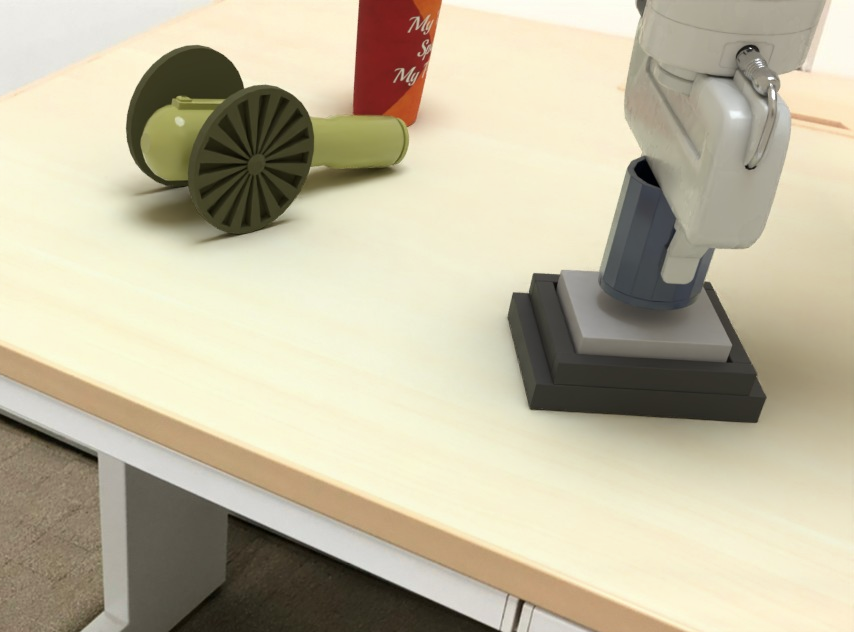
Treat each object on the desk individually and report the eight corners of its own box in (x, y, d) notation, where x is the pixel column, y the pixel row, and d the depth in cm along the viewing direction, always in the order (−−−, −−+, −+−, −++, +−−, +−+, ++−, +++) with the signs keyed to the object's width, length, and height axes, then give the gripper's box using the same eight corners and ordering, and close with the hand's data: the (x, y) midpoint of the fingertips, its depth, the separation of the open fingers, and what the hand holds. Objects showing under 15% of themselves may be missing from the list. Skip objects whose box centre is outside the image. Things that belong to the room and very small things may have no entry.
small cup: (687, 266, 82) (722, 155, 77) (710, 313, 77) (749, 198, 72) (590, 261, 82) (619, 151, 77) (607, 307, 78) (639, 193, 73)
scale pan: (690, 299, 85) (698, 276, 83) (724, 369, 78) (732, 345, 77) (555, 292, 85) (561, 269, 84) (576, 360, 79) (583, 336, 77)
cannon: (354, 140, 113) (369, 9, 106) (437, 188, 105) (460, 50, 98) (109, 195, 104) (108, 57, 97) (180, 253, 96) (184, 107, 89)
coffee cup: (420, 138, 113) (448, -38, 103) (331, 126, 115) (350, -47, 106) (435, 106, 119) (462, -64, 109) (350, 95, 121) (370, -72, 112)
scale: (710, 326, 87) (726, 281, 85) (757, 422, 78) (776, 375, 76) (507, 315, 89) (517, 271, 86) (529, 409, 80) (541, 361, 77)
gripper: (850, 89, 61) (757, 336, 70) (740, -31, 76) (676, 184, 85) (716, 84, 61) (641, 330, 70) (634, -34, 77) (581, 180, 86)
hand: (659, 249), depth 78 cm, fingers closed on small cup, 6 cm apart
